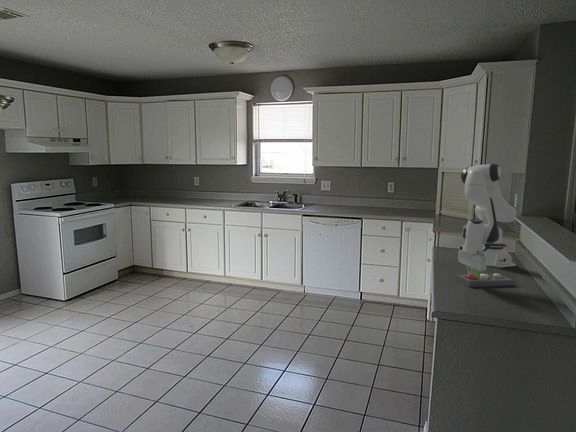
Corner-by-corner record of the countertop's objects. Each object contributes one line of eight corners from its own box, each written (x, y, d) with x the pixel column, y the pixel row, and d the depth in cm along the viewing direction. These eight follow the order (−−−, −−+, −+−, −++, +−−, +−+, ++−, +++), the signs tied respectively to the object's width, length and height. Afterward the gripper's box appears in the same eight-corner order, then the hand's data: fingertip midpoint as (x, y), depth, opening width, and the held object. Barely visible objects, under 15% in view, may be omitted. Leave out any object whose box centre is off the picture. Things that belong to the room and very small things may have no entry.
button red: (471, 279, 224) (472, 273, 223) (476, 281, 220) (476, 276, 220) (465, 279, 223) (465, 274, 223) (469, 281, 219) (470, 276, 219)
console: (497, 278, 232) (497, 273, 231) (512, 285, 220) (513, 280, 219) (455, 280, 227) (456, 274, 226) (468, 286, 215) (469, 281, 215)
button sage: (497, 278, 227) (498, 273, 226) (502, 280, 223) (503, 275, 223) (491, 278, 226) (491, 273, 226) (496, 280, 222) (496, 275, 222)
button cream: (484, 278, 225) (485, 273, 225) (489, 281, 222) (490, 275, 221) (478, 279, 225) (478, 273, 224) (483, 281, 221) (483, 275, 220)
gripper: (491, 254, 210) (488, 280, 212) (467, 245, 230) (464, 269, 232) (480, 254, 208) (477, 280, 210) (456, 245, 228) (454, 269, 230)
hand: (470, 274), depth 221 cm, fingers closed
